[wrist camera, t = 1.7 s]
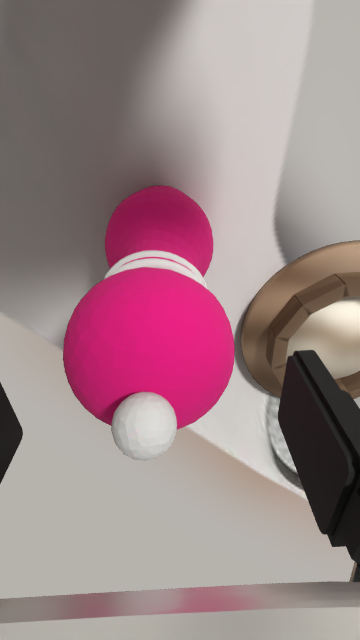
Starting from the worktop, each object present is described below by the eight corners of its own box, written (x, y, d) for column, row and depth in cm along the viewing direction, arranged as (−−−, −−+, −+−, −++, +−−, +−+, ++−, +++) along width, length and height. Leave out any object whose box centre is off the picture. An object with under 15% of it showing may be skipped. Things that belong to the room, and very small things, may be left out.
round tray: (247, 246, 26) (256, 261, 23) (463, 234, 25) (498, 247, 23) (236, 398, 35) (241, 421, 33) (393, 390, 35) (411, 412, 32)
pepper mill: (185, 280, 27) (211, 538, 10) (105, 251, 25) (-22, 501, 9) (221, 200, 24) (352, 393, 7) (131, 161, 22) (2, 283, 5)
